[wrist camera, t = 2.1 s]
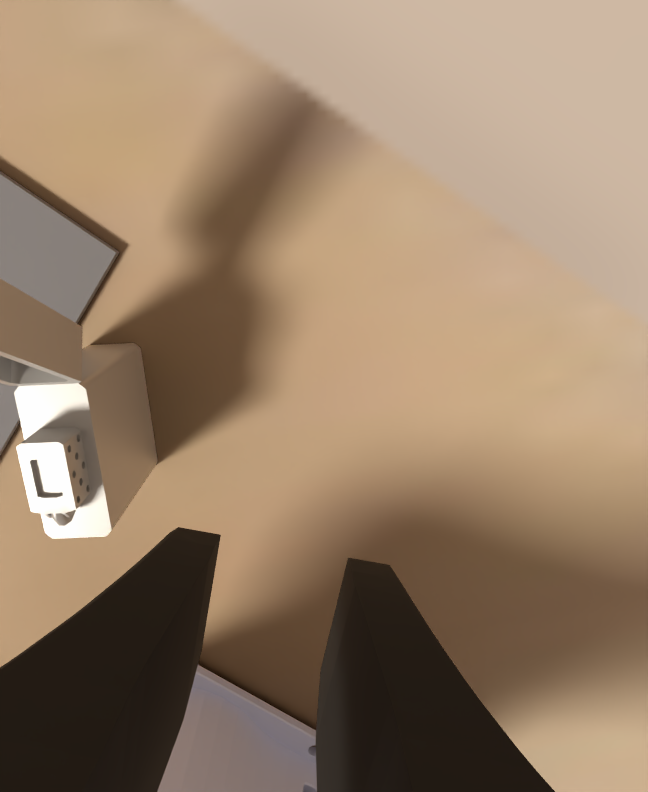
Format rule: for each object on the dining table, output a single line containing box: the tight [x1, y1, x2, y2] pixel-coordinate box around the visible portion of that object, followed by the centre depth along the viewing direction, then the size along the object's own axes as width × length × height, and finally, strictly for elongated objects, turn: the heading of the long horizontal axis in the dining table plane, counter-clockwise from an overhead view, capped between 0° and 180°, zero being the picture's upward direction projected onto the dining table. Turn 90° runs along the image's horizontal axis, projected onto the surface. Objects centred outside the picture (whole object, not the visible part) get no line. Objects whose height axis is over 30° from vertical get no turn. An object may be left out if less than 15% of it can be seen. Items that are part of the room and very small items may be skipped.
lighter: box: [0, 279, 158, 539], centre depth 15 cm, size 7×2×8 cm, turn 3°
